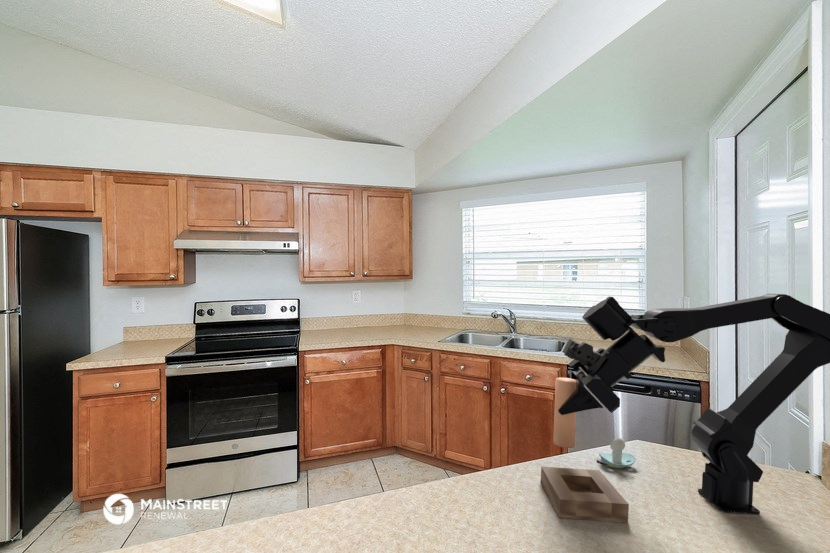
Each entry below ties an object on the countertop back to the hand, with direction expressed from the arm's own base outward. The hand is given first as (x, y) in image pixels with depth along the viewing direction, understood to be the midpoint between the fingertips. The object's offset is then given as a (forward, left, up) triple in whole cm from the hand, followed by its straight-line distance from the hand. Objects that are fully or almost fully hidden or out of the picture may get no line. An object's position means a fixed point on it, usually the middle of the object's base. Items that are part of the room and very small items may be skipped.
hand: (558, 409), depth 76 cm
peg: (-1, 0, -7) cm, 7 cm away
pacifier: (-15, -8, -14) cm, 22 cm away
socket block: (-2, +8, -13) cm, 16 cm away
